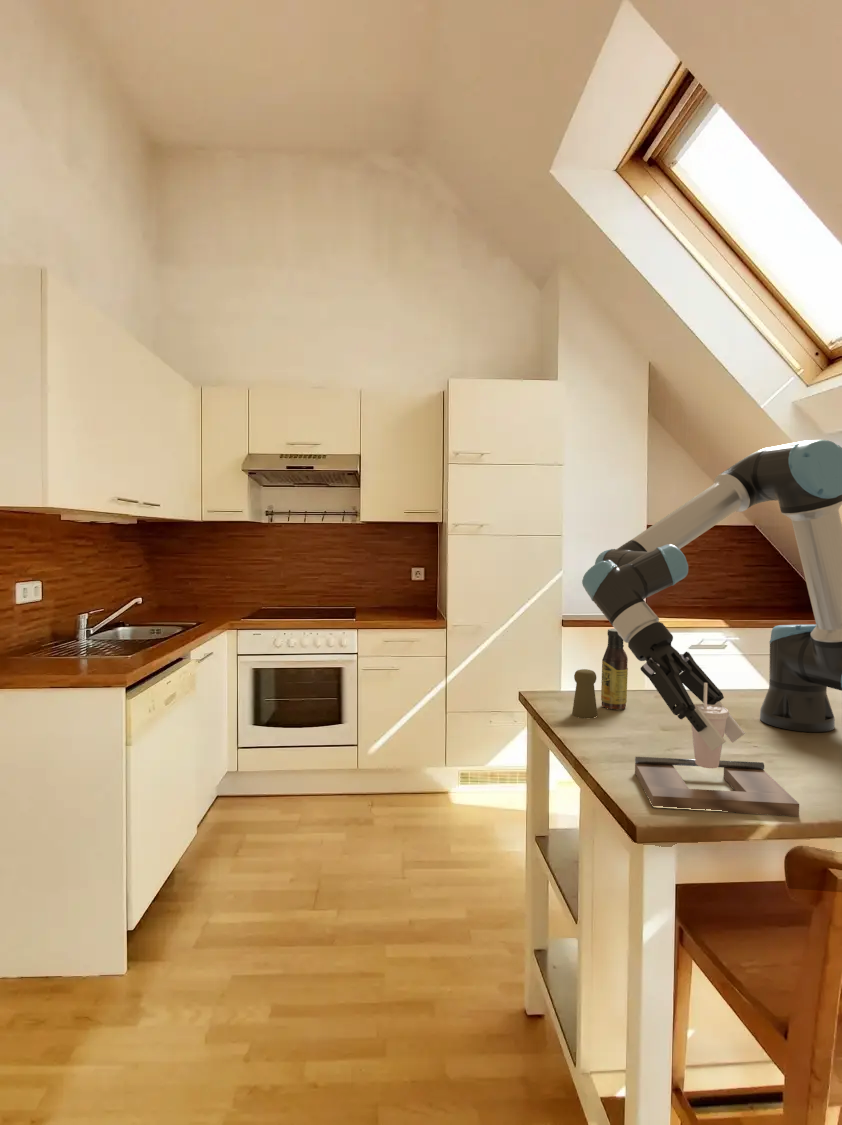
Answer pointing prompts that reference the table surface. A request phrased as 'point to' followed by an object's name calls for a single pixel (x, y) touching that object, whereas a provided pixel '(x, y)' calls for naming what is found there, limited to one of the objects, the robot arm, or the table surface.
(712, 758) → the smoothie
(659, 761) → the hook bar
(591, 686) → the cork
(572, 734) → the table surface
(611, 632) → the sauce bottle
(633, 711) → the table surface
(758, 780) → the slot board
